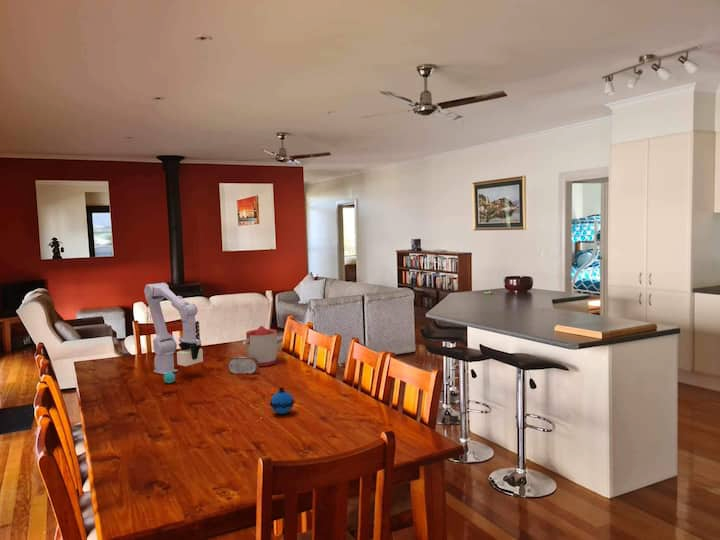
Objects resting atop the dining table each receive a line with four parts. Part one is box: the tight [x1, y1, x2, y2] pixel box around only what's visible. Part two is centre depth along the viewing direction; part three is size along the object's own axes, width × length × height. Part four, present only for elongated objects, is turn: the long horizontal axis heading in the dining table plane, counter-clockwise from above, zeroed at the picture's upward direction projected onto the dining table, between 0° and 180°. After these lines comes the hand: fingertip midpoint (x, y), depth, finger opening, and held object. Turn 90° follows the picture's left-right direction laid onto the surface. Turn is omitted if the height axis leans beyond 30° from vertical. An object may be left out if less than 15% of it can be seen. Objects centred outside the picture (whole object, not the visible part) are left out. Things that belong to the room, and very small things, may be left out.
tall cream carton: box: [176, 348, 204, 367], centre depth 250 cm, size 6×10×6 cm, turn 144°
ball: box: [163, 372, 176, 384], centre depth 241 cm, size 5×5×5 cm
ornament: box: [269, 386, 295, 415], centre depth 197 cm, size 9×9×10 cm
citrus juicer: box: [242, 325, 278, 367], centre depth 271 cm, size 16×17×20 cm
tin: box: [227, 355, 260, 375], centre depth 254 cm, size 15×3×8 cm, turn 84°
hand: (190, 358), depth 250 cm, fingers closed on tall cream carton, 6 cm apart
